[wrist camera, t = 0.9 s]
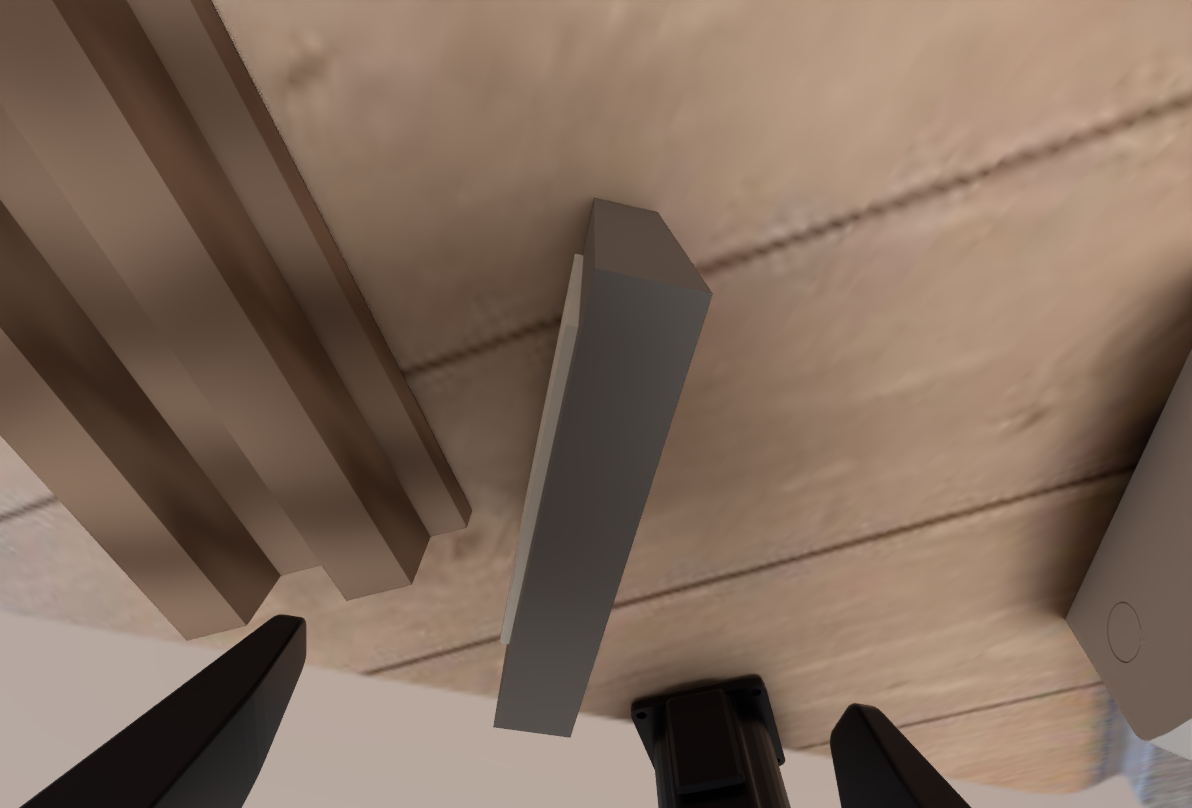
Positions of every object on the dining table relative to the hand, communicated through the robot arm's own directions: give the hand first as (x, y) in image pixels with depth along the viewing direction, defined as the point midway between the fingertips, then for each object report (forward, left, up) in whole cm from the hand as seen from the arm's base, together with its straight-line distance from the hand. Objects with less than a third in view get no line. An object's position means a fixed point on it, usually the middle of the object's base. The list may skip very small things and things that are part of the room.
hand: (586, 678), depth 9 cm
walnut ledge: (+6, +12, -12) cm, 18 cm away
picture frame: (0, 0, -12) cm, 12 cm away
